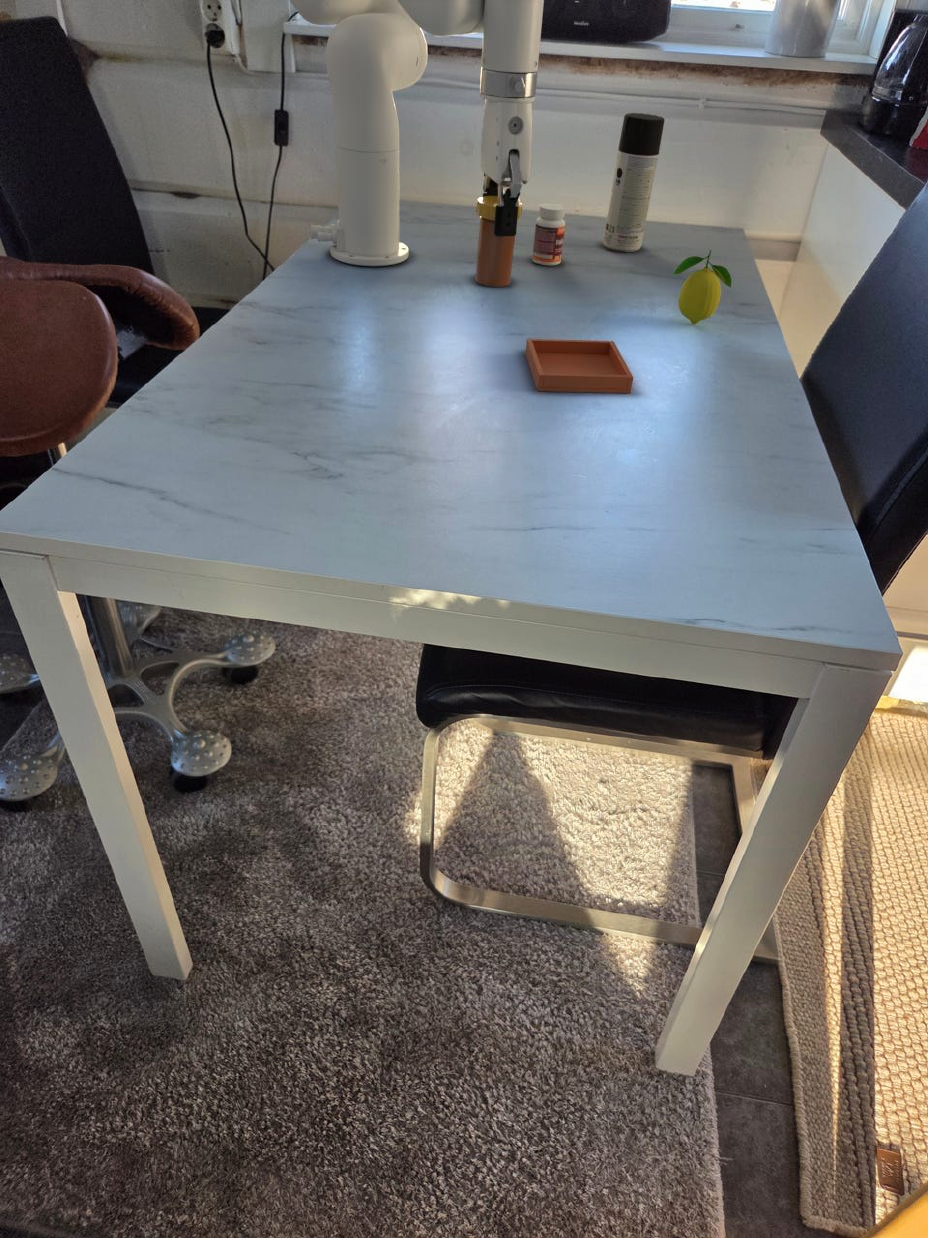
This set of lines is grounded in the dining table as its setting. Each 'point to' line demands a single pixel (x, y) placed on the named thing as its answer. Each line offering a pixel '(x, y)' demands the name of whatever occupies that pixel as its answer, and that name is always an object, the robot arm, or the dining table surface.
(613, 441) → the dining table surface
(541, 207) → the pill bottle
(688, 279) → the lemon
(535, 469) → the dining table surface
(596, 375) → the tray
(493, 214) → the jar lid
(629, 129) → the spray can
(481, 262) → the brown jar
